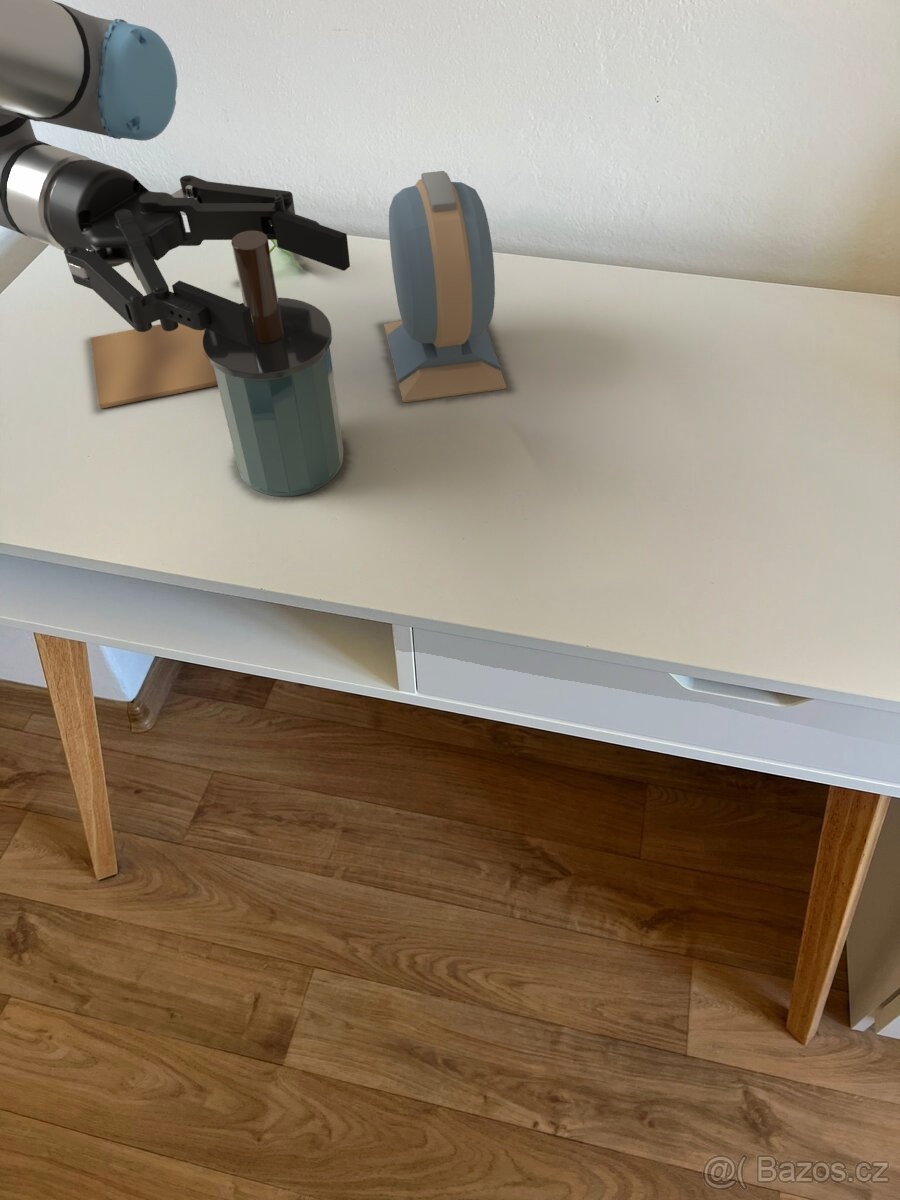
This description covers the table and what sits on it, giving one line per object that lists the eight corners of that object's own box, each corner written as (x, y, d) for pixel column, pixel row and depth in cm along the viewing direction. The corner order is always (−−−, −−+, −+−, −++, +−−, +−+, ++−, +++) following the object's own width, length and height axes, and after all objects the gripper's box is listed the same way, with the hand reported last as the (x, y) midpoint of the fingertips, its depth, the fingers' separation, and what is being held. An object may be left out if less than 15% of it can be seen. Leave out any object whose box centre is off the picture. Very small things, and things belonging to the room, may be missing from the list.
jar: (247, 506, 85) (218, 387, 75) (230, 438, 90) (201, 318, 81) (354, 483, 86) (338, 363, 77) (330, 417, 92) (313, 297, 82)
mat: (100, 409, 93) (98, 404, 93) (91, 341, 100) (90, 337, 100) (218, 385, 95) (217, 381, 95) (201, 320, 102) (200, 316, 102)
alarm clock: (508, 395, 93) (514, 217, 80) (404, 409, 92) (392, 231, 79) (477, 308, 102) (478, 135, 89) (382, 320, 101) (368, 147, 88)
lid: (215, 397, 75) (188, 289, 68) (197, 323, 81) (170, 217, 74) (345, 371, 77) (332, 263, 70) (318, 300, 83) (303, 194, 76)
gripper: (190, 190, 90) (393, 260, 82) (-13, 319, 77) (203, 417, 69) (170, 104, 84) (387, 170, 76) (-52, 229, 72) (178, 324, 64)
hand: (299, 288), depth 73 cm, fingers open, 10 cm apart
